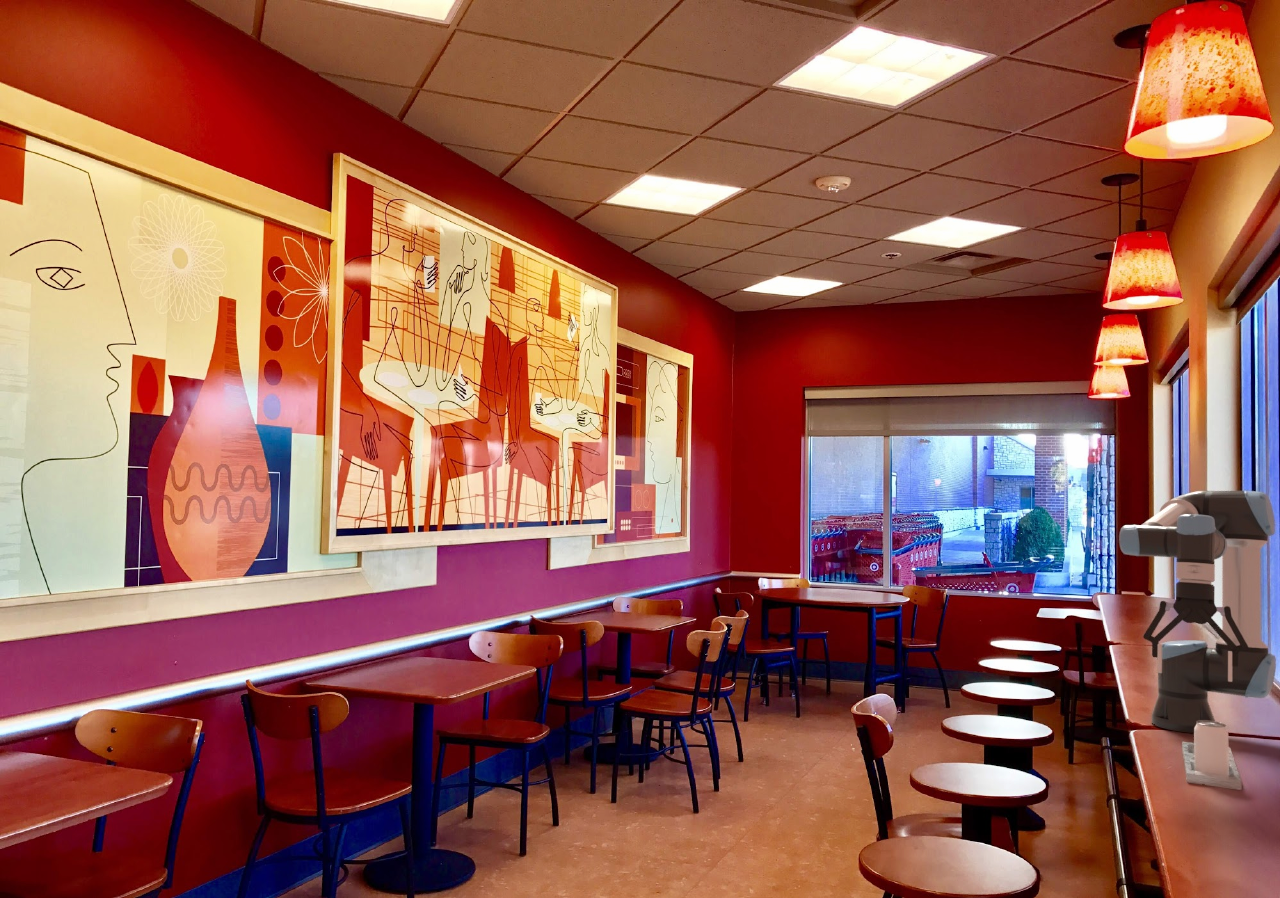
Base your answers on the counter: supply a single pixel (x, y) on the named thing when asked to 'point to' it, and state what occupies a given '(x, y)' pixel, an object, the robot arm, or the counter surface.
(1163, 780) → the counter surface
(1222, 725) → the can
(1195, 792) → the counter surface
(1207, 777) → the holder
